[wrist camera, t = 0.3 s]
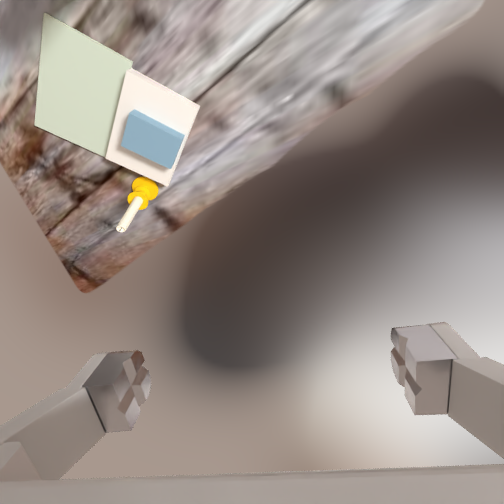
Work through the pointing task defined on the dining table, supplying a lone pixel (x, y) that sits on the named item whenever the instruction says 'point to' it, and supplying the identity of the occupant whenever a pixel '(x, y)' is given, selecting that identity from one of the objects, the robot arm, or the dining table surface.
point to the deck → (157, 107)
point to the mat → (78, 86)
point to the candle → (138, 200)
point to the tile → (151, 139)
